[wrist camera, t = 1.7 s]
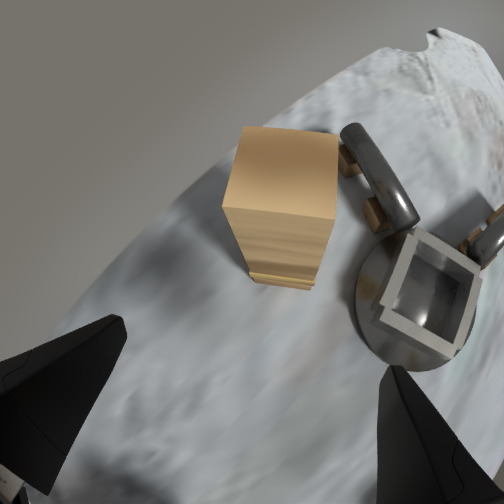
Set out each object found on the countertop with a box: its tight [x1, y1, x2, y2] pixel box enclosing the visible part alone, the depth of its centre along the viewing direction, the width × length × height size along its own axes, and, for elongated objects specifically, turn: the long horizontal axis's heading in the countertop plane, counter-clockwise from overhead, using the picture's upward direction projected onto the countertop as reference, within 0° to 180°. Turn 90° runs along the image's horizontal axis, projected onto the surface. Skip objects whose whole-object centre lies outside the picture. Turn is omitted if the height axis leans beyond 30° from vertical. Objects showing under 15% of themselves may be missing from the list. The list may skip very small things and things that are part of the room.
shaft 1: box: [338, 123, 420, 234], centre depth 22 cm, size 10×3×4 cm, turn 18°
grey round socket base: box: [354, 226, 482, 372], centre depth 19 cm, size 12×12×3 cm
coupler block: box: [222, 126, 338, 290], centre depth 17 cm, size 5×5×12 cm
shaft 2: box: [457, 204, 504, 271], centre depth 19 cm, size 10×3×4 cm, turn 118°
